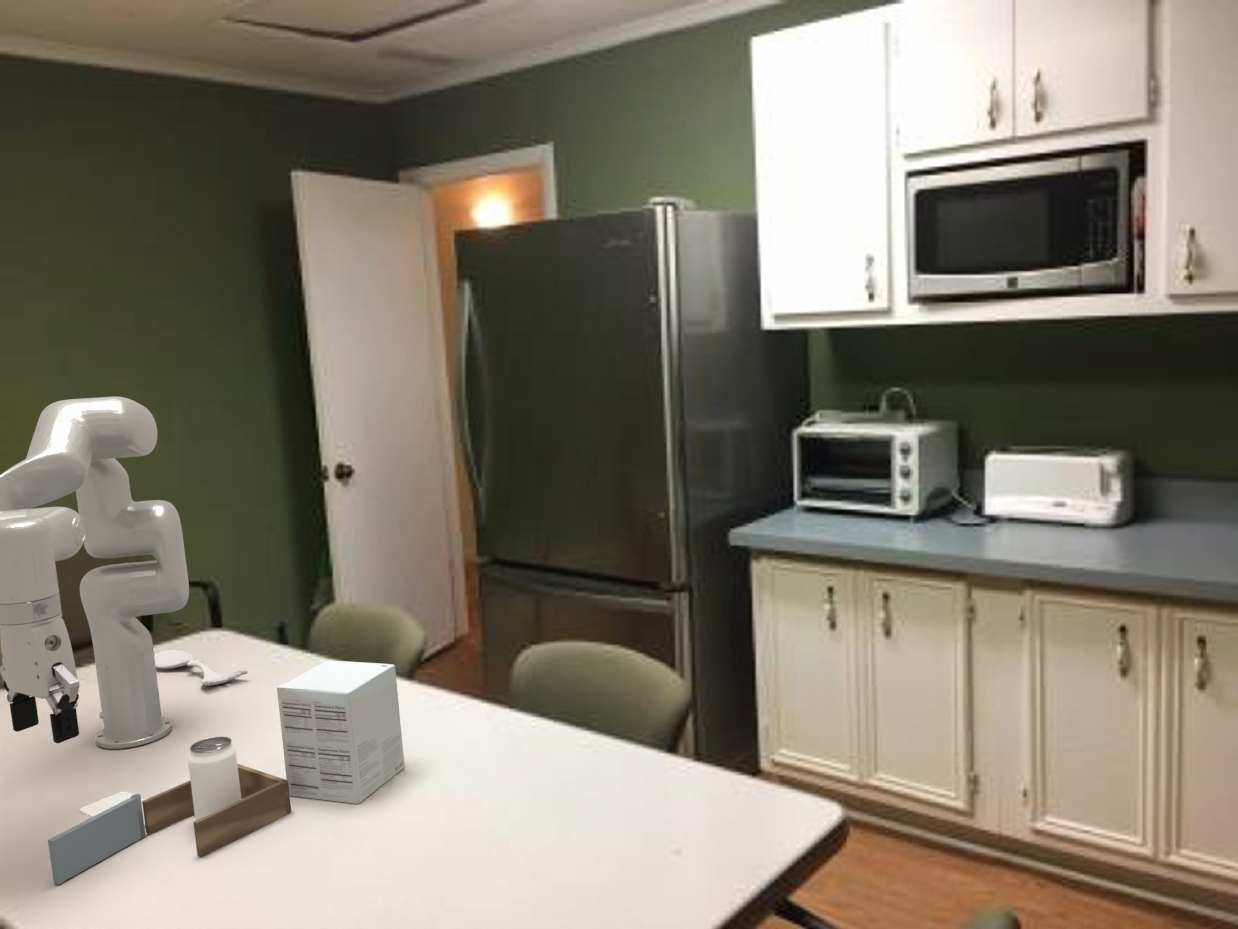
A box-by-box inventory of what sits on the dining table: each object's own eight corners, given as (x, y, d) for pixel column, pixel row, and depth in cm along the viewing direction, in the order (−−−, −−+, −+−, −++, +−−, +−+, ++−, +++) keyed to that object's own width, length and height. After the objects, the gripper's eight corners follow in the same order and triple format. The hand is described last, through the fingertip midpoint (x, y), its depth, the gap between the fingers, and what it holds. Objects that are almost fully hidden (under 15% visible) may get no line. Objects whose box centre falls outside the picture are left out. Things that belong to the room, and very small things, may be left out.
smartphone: (123, 790, 162) (174, 812, 153) (124, 795, 162) (175, 816, 153) (76, 809, 156) (126, 833, 147) (77, 814, 156) (127, 838, 147)
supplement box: (337, 760, 169) (326, 658, 167) (406, 768, 165) (396, 663, 163) (285, 796, 157) (274, 687, 155) (359, 805, 153) (348, 692, 150)
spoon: (208, 697, 205) (206, 680, 204) (142, 667, 227) (140, 652, 226) (251, 683, 211) (249, 667, 211) (182, 656, 233) (180, 641, 233)
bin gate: (141, 834, 147) (136, 793, 146) (147, 835, 147) (142, 794, 146) (53, 883, 135) (47, 839, 134) (59, 885, 134) (53, 840, 133)
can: (227, 834, 146) (218, 754, 144) (186, 832, 147) (177, 753, 146) (252, 812, 152) (243, 735, 151) (212, 811, 153) (203, 734, 152)
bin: (146, 834, 147) (141, 801, 147) (236, 792, 159) (232, 762, 159) (200, 857, 140) (196, 823, 139) (291, 812, 151) (288, 780, 151)
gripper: (93, 609, 135) (110, 733, 137) (22, 597, 144) (38, 714, 146) (36, 624, 128) (54, 755, 131) (-35, 611, 137) (-17, 733, 140)
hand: (46, 733), depth 138 cm, fingers open, 9 cm apart
